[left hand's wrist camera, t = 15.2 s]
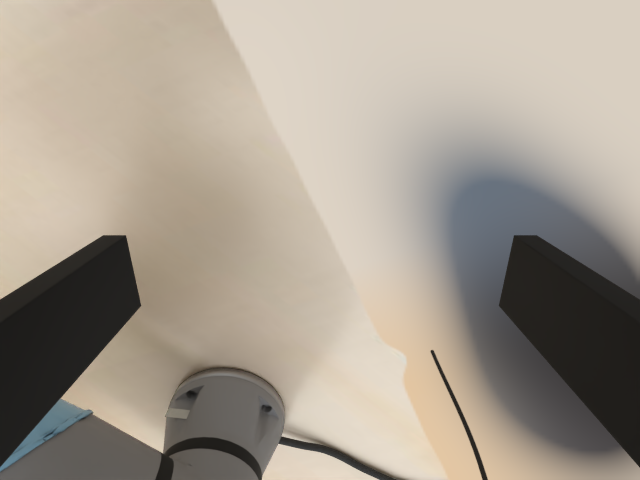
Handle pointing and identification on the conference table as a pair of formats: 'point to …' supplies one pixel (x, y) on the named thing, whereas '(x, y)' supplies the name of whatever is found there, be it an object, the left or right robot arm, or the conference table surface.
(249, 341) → the conference table surface
